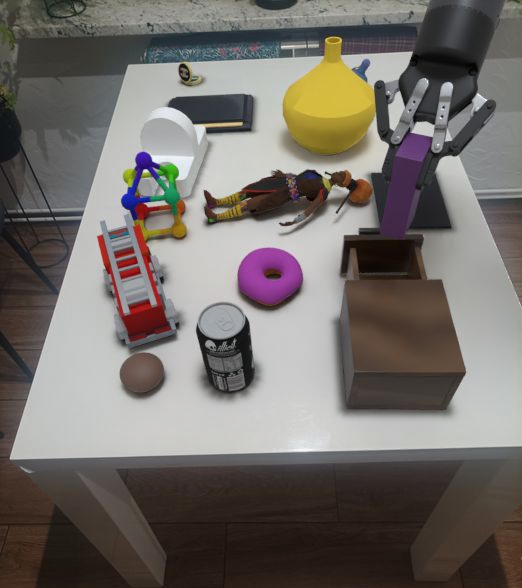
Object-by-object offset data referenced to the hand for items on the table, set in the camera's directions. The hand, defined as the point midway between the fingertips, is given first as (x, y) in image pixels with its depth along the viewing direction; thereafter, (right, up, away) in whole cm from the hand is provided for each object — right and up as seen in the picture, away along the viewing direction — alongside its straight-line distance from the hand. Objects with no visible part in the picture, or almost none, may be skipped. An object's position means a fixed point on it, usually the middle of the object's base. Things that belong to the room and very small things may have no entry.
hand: (403, 184), depth 54 cm
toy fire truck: (-35, -12, +21) cm, 42 cm away
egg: (-32, -23, +12) cm, 42 cm away
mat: (+11, +8, +32) cm, 35 cm away
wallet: (-28, +34, +54) cm, 70 cm away
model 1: (-34, +3, +32) cm, 47 cm away
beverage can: (-20, -22, +12) cm, 33 cm away
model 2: (+2, +37, +54) cm, 66 cm away
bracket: (-34, +18, +42) cm, 57 cm away
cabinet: (+2, -21, +12) cm, 24 cm away
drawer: (+2, -10, +19) cm, 21 cm away
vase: (-3, +25, +45) cm, 51 cm away
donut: (-15, -9, +22) cm, 28 cm away
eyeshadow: (-34, +48, +64) cm, 87 cm away
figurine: (-11, +7, +33) cm, 36 cm away
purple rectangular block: (+1, -3, +7) cm, 8 cm away
